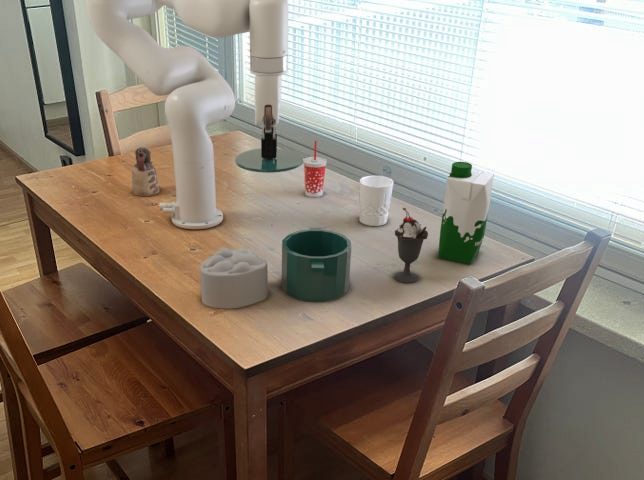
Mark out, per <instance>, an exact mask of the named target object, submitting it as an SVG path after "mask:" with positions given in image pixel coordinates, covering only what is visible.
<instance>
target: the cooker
mask: <svg viewBox="0 0 644 480" xmlns="http://www.w3.org/2000/svg"><path fill="white" fill-rule="evenodd" d="M351 259H352V241H351V239H349V238H348V237H347V236H346V235H344V234H342V233H339V232H337V231H334V230H329V229H322V227H319V226H316V227H315V226H314V227H313V226H312V227H311V226H310V227H309V228H308V229H303V230H297V231H294V232H292V233H289V234H287V235H286V236H285V237H284V238H283V239H282V240H281V289H282V290H283V292H284V293H285V294H286V295H288V296H289V297H291V298H293V299H296V300H299V301H302V302H303V301H305V302H309V303H310V302H312V303H321V302H324V303H325V302H329V301H333V300H336V299H339V298H341V297H343V296H344V295H345V294H346V293H347V292H348V290H349V287H350V277H351V276H350V275H351V274H350V273H351V261H352V260H351Z"/></svg>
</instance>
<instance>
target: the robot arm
mask: <svg viewBox="0 0 644 480" xmlns="http://www.w3.org/2000/svg"><path fill="white" fill-rule="evenodd" d="M85 6H86V14H87V17H88V20H89V23H90V25H91V27H92V29H93V31H94V33H95V34H96V35H97V37H98V38H99V40H101V41H102V43H103V44H104V45H106V47H107V48H109V49H110V50H111V51H112V52H113V53H114V54H115V55H116V56H117V57H118V58H120V59H121V60H122V62H123V63H124V64H125V65H126V66H127V68H128V69H130V71H131V72H132V73H133V74H134V75H135V77H136V78H137V79H138V80H139V81H140V82H141V83H142V84H143V86H145V87H146V88H147V89H148V91H150V93H152V94H153V95H155V96H157V97H163V96H167V97H166V100H165V103H164V113H165V118H166V121H167V125H168V129H169V134H170V139H171V148H172V149H171V150H172V159H173V170H174V171H173V172H174V173H173V174H174V184H175V196H176V197H175V199H176V200H175V201H172V202H159V207H158V208H159V211H162V213H163V214H171V223H173V225H175V226H176V227H178V228H180V229H185V230H205V229H210V228H213V227H216V226H218V225H219V224H221V223H222V222H223V220H224V214H223V212H222V211H221V210H220V209H218V208H217V193H216V174H215V173H216V172H215V153H214V145H213V142H212V139H211V137H210V136H209V133H208V132H207V128H206V127H208V126H210V125H213V124H216V123H218V122H221V121H223V120H226V119H227V118H229V117H230V116H231V115H232V113H233V112H234V111H235V107H236V97H235V94H234V91H233V89H232V87H231V86H230V85H229V83H228V82H227V80H226V79H225V78H224V77H223V76H222V74H220V73H219V71H218V70H217V69H216V68H215V67H214V66H213V65H212V64H211V63H210V61H208V59H207V58H206V57H205V56H204V55H203V54H202V53H201V52H200V51H198V50H197V49H195V48H193V47H191V46H188V45H178V46H174V47H164V46H162V45H160V44H159V43H158V41H156V40H155V39H154V38H153V37H152V35H151V34H150V33H149V32H148V31H147V30H145V29H144V28H142V27H140V25H137V24H135V23H133V22H131V21H130V20H135V19H139V18H144V17H145V18H146V17H149V16H151V15H153V14H155V13H157V12H158V11H159V10H160V9H162V8H163V7H164V6H166V7H168V8H171V9H172V10H175V12H176V15H177V16H178V18H179V19H180V21H181V23H183V24H184V25H185V26H187V27H188V28H190V29H191V30H194V31H196V32H199V33H201V34H203V35H205V36H208V37H212V38H219V39H220V38H226V37H231V36H235V35H240V34H245V33H249V65H250V66H249V72H250V74H252V75H255V76H254V77H255V78H254V125H255V126H256V127H259V125H261V138H260V147H261V148H260V149H261V157H262V158H276V152H277V148H278V134H277V126H278V125H279V123H280V122H279V121H280V116H281V105H282V80H283V79H282V75H286V74H287V73H288V72H289V71H288V68H289V67H288V66H289V65H288V63H289V62H288V61H289V2H288V0H85Z"/></svg>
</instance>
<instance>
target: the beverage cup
mask: <svg viewBox="0 0 644 480" xmlns="http://www.w3.org/2000/svg"><path fill="white" fill-rule="evenodd" d="M317 143H318V142H317V140H314V151H313V152H314V153H313V155H314V156H309V157H308V156H307V157H305V158H303V163H302V165H303V172H304V173H303V174H304V195H305V196H307V197H308V198H309V197H311V198H318V197H321V196H323V195H324V184H325V177H326V176H325V175H326V166H327V164H328V160H327V158H324V157H320V156H317Z"/></svg>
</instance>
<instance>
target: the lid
mask: <svg viewBox="0 0 644 480" xmlns="http://www.w3.org/2000/svg"><path fill="white" fill-rule="evenodd" d="M234 159H235V161H234V162H235V164H236V166H237V167H239V168H240V169H243V170H246V171H248V172H253V173H254V172H255V173H263V174H264V173H265V174H266V173H267V174H269V173H271V174H272V173H273V174H274V173H282V172H287V171H292V170H295V169H297V168H299V167H301V166H302V165H303V160H304V157H303V155H302V154H300V153H299V152H296V151H294V150H291V149H287V148H286V149H285V148H279V147H277V152H276V158H262V157H261V148H255V149H249V150H245V151H243V152H240V153H239V154H238V155H237V154H236V157H235V158H234Z"/></svg>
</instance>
